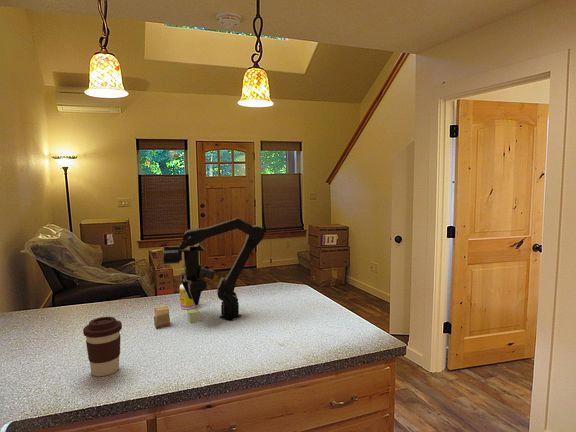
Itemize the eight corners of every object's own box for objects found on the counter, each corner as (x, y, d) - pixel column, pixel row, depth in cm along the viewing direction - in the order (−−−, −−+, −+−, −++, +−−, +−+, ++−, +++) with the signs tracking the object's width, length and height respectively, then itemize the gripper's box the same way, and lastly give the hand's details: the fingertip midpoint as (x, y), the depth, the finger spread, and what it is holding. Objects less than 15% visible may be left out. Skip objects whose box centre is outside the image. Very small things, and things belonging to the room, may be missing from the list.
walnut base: (170, 326, 145) (169, 317, 144) (156, 329, 142) (155, 320, 142) (167, 322, 149) (167, 313, 149) (154, 325, 147) (153, 316, 147)
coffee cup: (129, 362, 116) (126, 313, 115) (115, 379, 106) (112, 326, 105) (95, 363, 116) (93, 314, 115) (79, 380, 106) (75, 327, 105)
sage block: (200, 321, 150) (200, 311, 149) (190, 323, 148) (189, 313, 148) (197, 318, 153) (197, 308, 153) (187, 320, 151) (187, 310, 151)
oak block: (169, 317, 145) (168, 308, 144) (156, 319, 143) (156, 310, 142) (167, 314, 149) (166, 305, 148) (154, 316, 147) (154, 307, 146)
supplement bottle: (179, 306, 168) (177, 277, 167) (194, 304, 171) (193, 275, 170) (181, 311, 162) (180, 281, 161) (197, 308, 165) (196, 279, 164)
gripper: (219, 264, 144) (221, 305, 145) (205, 256, 160) (207, 292, 162) (189, 268, 139) (191, 310, 140) (178, 259, 155) (180, 297, 157)
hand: (193, 301), depth 150 cm, fingers open, 9 cm apart
